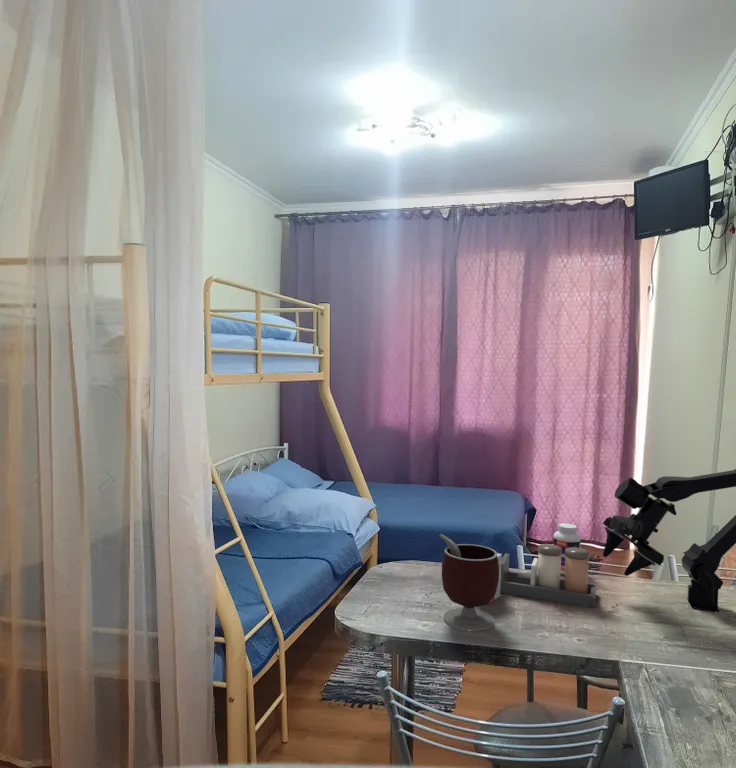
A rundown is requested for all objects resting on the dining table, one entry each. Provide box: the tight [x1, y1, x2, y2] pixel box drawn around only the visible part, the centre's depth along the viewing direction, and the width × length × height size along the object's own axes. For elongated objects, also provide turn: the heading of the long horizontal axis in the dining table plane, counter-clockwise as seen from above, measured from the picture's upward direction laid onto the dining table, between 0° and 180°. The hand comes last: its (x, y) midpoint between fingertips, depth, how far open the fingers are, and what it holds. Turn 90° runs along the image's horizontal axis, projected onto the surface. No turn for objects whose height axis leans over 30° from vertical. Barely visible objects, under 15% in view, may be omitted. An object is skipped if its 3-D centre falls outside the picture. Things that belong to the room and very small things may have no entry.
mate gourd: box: [439, 533, 499, 632], centre depth 151 cm, size 16×14×20 cm
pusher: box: [516, 557, 538, 586], centre depth 172 cm, size 5×7×8 cm
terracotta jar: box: [564, 547, 590, 594], centre depth 167 cm, size 6×6×13 cm
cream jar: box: [537, 543, 562, 590], centre depth 170 cm, size 6×6×13 cm
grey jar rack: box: [500, 553, 597, 609], centre depth 170 cm, size 25×10×8 cm, turn 68°
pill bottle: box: [552, 522, 582, 576], centre depth 188 cm, size 8×8×14 cm
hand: (614, 565), depth 166 cm, fingers open, 9 cm apart
